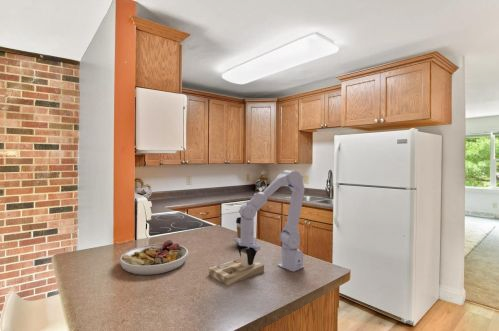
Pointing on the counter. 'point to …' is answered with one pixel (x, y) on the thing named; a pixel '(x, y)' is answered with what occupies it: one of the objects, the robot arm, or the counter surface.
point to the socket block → (234, 271)
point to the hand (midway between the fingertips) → (247, 262)
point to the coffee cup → (238, 227)
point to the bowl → (154, 258)
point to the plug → (245, 259)
